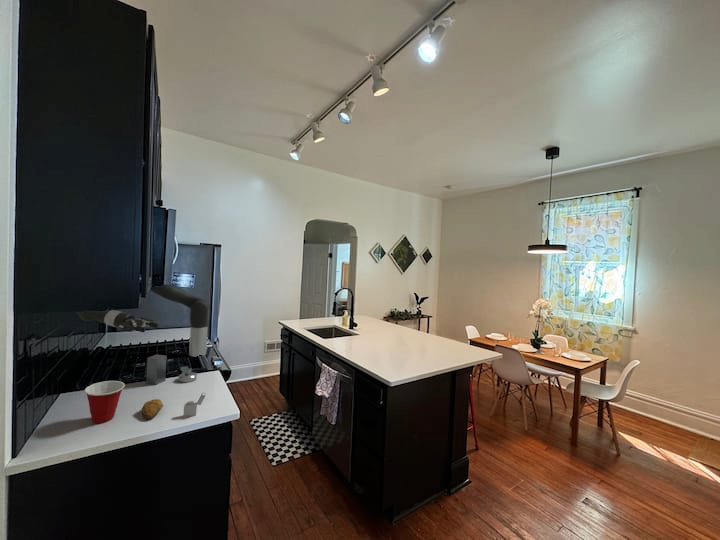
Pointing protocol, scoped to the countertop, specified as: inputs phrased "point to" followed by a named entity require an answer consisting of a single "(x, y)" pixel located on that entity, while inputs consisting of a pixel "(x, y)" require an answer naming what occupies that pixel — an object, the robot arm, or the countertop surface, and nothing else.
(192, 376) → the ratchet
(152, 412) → the croissant
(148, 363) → the gray rectangular block
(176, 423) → the countertop surface
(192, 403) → the lighter
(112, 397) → the plastic cup
